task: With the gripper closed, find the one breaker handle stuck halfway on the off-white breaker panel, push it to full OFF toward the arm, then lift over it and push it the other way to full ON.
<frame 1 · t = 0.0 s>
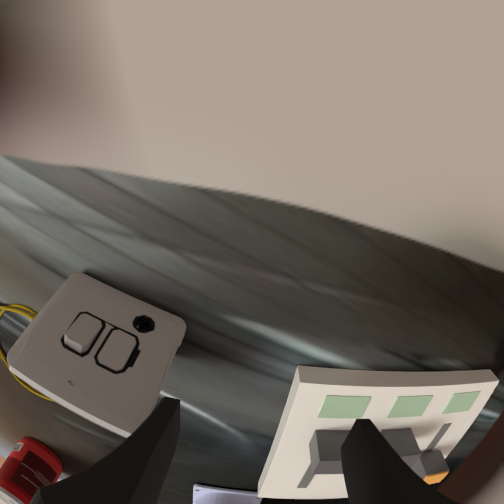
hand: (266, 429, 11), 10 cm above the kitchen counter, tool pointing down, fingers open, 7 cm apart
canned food: (42, 452, 30), on the kitchen counter
breaker panel: (374, 440, 25), on the kitchen counter
electrical switch: (127, 322, 22), on the kitchen counter
extension cord: (21, 339, 24), on the kitchen counter
breaker handle: (429, 468, 21), point 4 cm above the kitchen counter, slide at 4.0 cm
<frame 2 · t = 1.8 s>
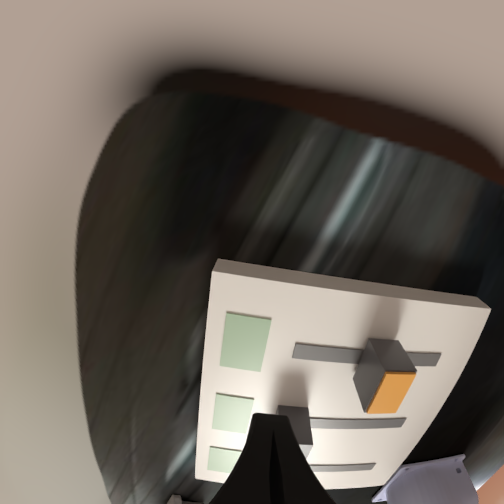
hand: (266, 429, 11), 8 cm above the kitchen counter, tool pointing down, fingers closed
breaker panel: (326, 404, 21), on the kitchen counter
breaker handle: (383, 376, 15), point 4 cm above the kitchen counter, slide at 4.0 cm
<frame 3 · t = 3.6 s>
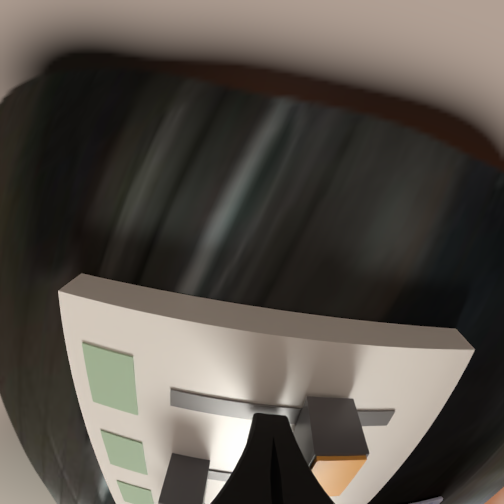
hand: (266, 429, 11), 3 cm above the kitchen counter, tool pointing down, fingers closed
breaker panel: (246, 452, 16), on the kitchen counter
breaker handle: (324, 449, 10), point 4 cm above the kitchen counter, slide at 2.6 cm, touching gripper
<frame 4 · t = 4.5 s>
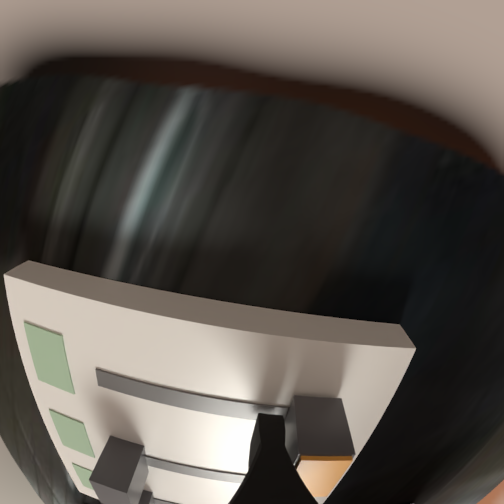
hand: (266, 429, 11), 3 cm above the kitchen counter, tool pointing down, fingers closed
breaker panel: (187, 443, 16), on the kitchen counter
breaker handle: (311, 448, 10), point 4 cm above the kitchen counter, slide at -0.4 cm, touching gripper
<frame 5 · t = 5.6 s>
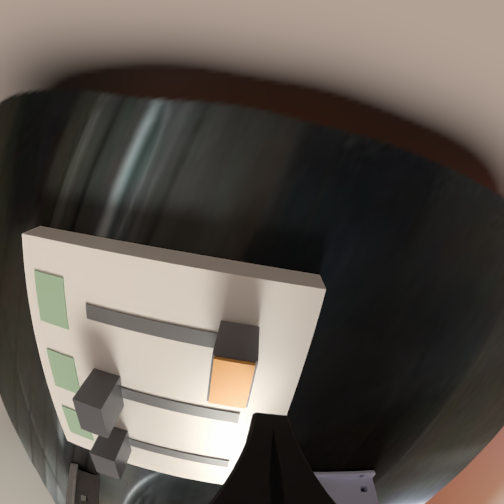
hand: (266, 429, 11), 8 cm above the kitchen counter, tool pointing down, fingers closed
breaker panel: (157, 381, 20), on the kitchen counter
electrical switch: (92, 481, 27), on the kitchen counter
breaker handle: (233, 364, 15), point 4 cm above the kitchen counter, slide at -0.1 cm
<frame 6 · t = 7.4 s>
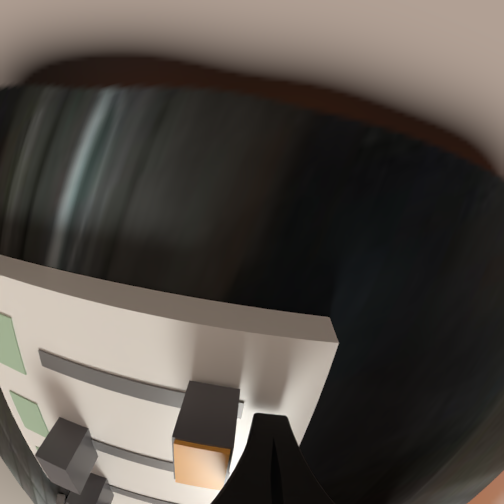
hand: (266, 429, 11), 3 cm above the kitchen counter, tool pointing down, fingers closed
breaker panel: (134, 430, 16), on the kitchen counter
breaker handle: (206, 437, 10), point 4 cm above the kitchen counter, slide at 0.3 cm, touching gripper
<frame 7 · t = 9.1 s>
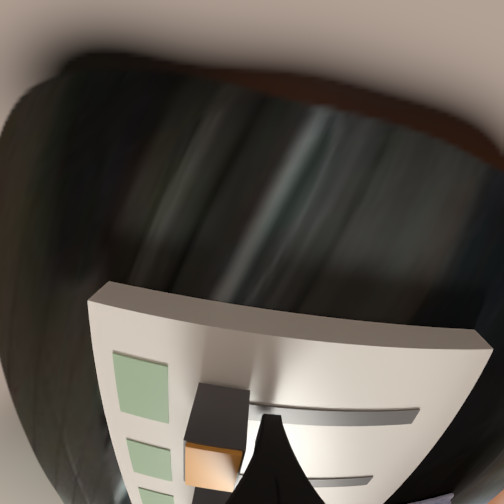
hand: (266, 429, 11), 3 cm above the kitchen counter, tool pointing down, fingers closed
breaker panel: (271, 455, 16), on the kitchen counter
breaker handle: (216, 439, 10), point 4 cm above the kitchen counter, slide at 8.3 cm, touching gripper
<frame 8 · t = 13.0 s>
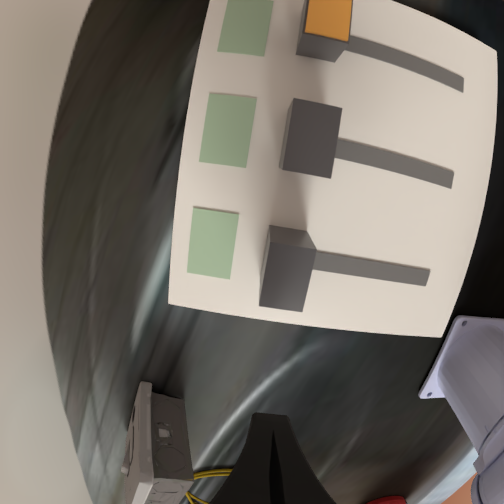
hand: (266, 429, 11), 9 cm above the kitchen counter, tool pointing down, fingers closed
breaker panel: (349, 153, 17), on the kitchen counter
electrical switch: (163, 417, 24), on the kitchen counter
extension cord: (225, 493, 28), on the kitchen counter
breaker handle: (323, 22, 11), point 4 cm above the kitchen counter, slide at 8.1 cm
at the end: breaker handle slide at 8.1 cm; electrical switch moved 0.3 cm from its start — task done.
